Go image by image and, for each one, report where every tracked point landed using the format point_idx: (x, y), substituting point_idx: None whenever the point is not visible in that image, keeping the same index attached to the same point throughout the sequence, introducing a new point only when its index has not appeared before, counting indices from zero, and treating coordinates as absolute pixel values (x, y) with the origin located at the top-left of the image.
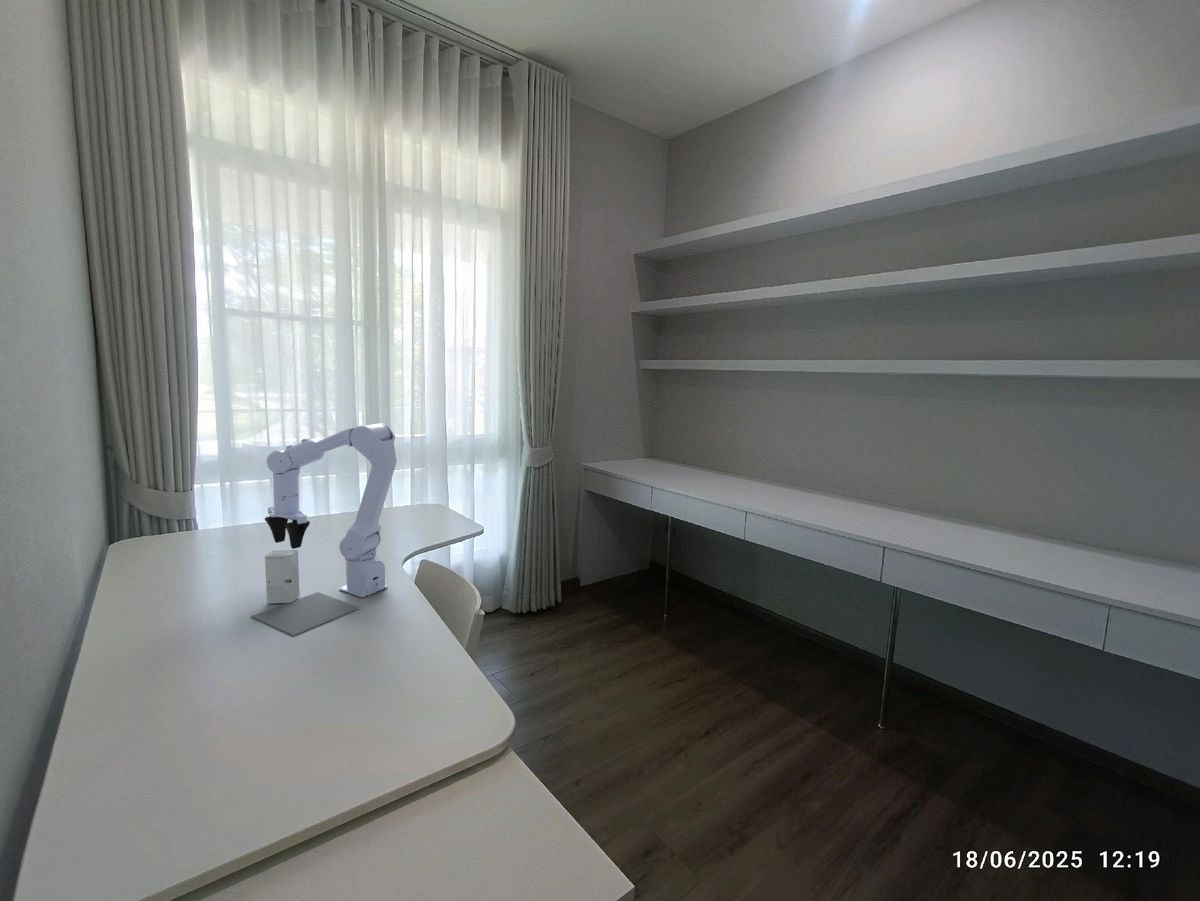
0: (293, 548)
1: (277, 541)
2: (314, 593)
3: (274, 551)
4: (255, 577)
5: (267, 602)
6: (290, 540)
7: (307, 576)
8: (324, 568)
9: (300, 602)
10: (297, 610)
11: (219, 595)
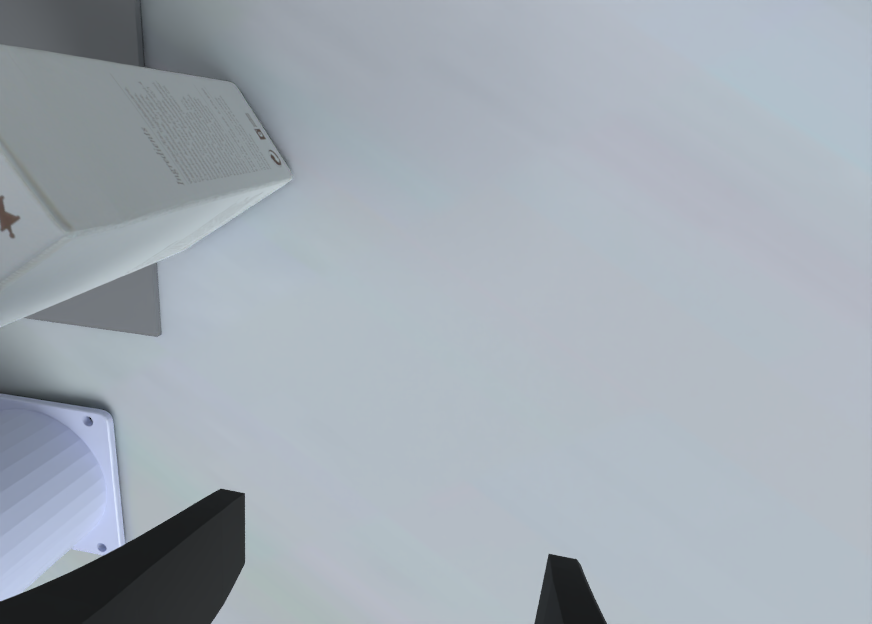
0: (215, 493)
1: (548, 574)
2: (153, 314)
3: (4, 215)
4: (739, 343)
5: (228, 82)
6: (162, 541)
7: (439, 481)
8: (465, 600)
9: None
10: None
11: (670, 7)
